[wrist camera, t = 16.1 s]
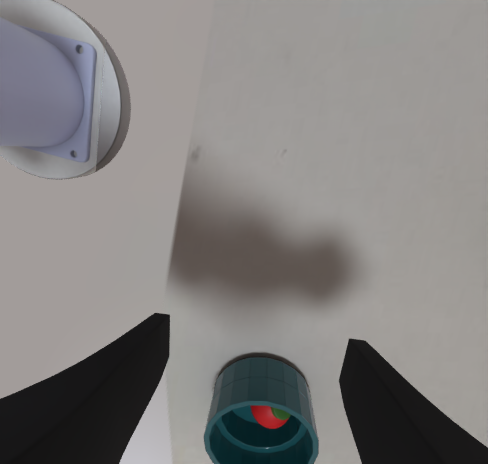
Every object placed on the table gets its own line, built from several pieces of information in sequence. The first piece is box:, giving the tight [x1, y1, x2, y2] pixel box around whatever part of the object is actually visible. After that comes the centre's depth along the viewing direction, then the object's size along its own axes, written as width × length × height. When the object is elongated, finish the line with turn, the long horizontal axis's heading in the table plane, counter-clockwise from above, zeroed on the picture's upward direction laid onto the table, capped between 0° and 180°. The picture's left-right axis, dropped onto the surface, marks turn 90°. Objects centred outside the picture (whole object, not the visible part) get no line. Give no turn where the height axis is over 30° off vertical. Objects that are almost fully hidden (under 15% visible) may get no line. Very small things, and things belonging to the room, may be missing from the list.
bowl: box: [204, 357, 319, 464], centre depth 21 cm, size 8×8×4 cm
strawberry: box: [250, 405, 291, 429], centre depth 21 cm, size 3×3×4 cm
